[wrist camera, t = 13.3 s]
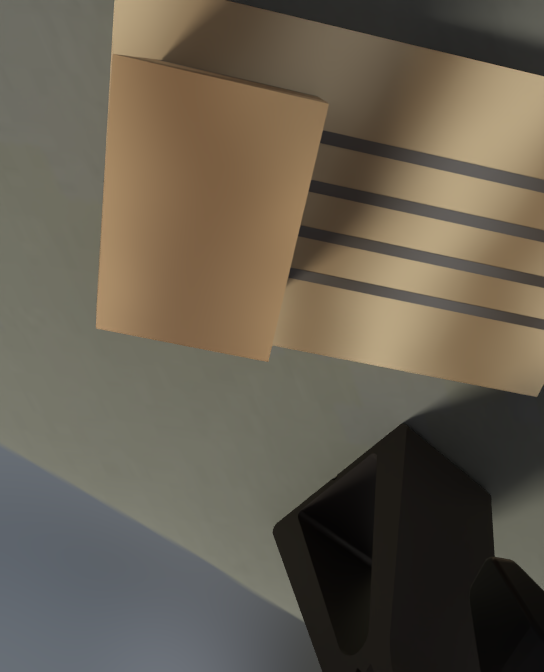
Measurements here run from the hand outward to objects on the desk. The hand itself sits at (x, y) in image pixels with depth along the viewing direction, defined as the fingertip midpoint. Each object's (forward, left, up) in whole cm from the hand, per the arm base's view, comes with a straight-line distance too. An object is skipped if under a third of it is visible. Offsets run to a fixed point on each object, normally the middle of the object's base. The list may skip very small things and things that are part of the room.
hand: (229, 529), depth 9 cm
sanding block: (+2, -3, -12) cm, 12 cm away
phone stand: (-8, +11, -13) cm, 19 cm away
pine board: (-3, -3, -13) cm, 14 cm away
